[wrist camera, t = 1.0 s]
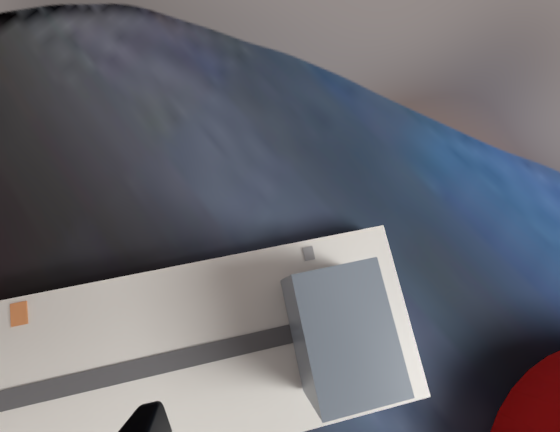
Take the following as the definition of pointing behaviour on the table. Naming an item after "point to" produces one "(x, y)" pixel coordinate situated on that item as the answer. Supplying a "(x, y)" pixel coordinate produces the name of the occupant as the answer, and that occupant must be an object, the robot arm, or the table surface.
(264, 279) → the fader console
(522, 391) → the red round tin
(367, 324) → the fader tab
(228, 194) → the table surface
